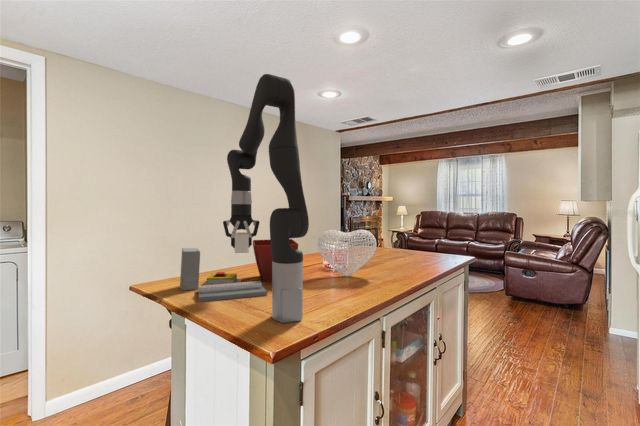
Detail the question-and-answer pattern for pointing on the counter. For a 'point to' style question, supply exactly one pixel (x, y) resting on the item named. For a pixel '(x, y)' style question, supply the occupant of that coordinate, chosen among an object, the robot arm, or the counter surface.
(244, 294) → the rail board
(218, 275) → the emergency button
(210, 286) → the rail
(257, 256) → the plant pot
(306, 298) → the counter surface
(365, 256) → the heart
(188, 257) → the skincare box
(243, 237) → the block
